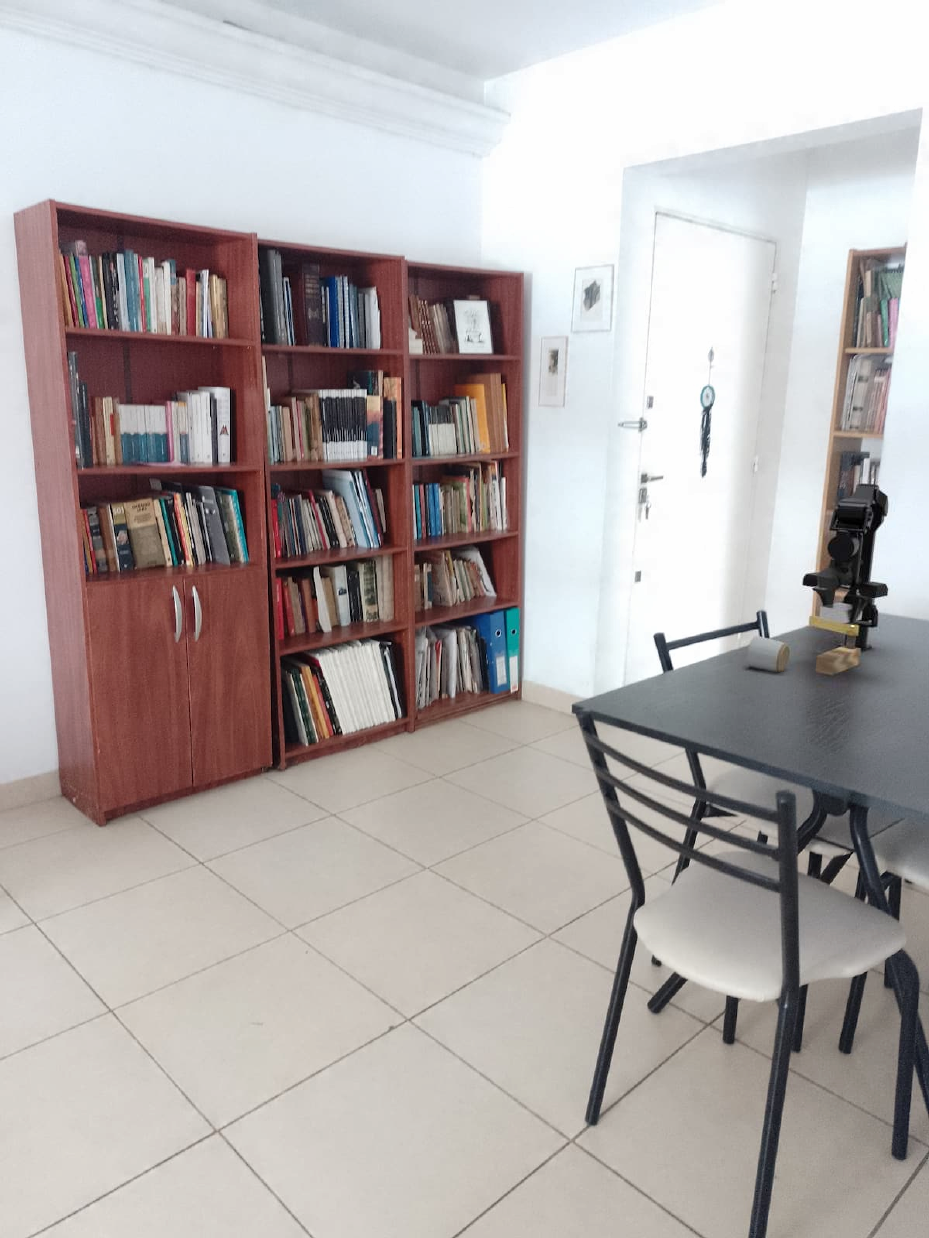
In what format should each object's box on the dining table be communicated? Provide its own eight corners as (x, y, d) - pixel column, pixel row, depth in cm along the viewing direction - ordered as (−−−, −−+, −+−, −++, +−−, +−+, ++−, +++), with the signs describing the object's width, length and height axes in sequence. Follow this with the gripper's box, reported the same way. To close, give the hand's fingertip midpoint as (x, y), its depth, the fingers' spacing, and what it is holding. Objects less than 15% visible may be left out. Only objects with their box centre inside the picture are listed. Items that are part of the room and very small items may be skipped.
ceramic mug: (778, 675, 215) (781, 643, 213) (744, 669, 220) (747, 638, 218) (793, 667, 223) (797, 636, 221) (760, 661, 228) (763, 631, 226)
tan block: (843, 660, 229) (846, 632, 227) (859, 664, 226) (862, 635, 224) (815, 671, 219) (818, 642, 217) (831, 675, 216) (835, 645, 214)
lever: (860, 635, 224) (861, 625, 224) (853, 636, 223) (854, 626, 222) (813, 624, 235) (814, 615, 234) (806, 625, 233) (807, 616, 233)
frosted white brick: (838, 614, 221) (839, 602, 220) (861, 619, 216) (862, 607, 216) (819, 618, 216) (820, 606, 216) (842, 623, 212) (843, 610, 211)
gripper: (791, 552, 216) (785, 617, 219) (866, 563, 201) (858, 632, 205) (819, 549, 222) (812, 611, 226) (893, 559, 208) (884, 626, 211)
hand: (840, 620), depth 217 cm, fingers closed on frosted white brick, 6 cm apart
